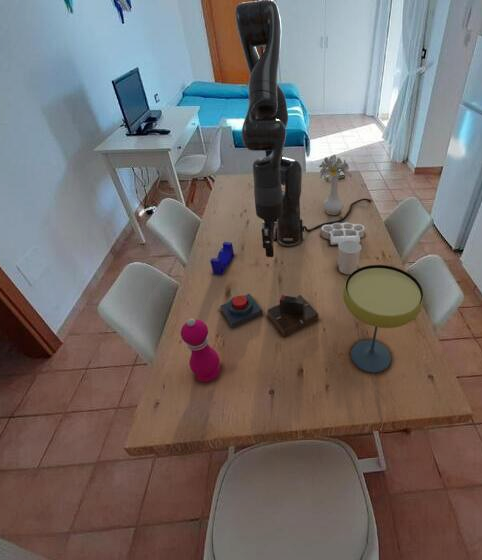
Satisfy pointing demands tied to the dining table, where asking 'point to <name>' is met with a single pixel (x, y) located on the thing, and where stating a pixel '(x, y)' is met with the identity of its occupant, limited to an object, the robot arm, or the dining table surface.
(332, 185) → the flower vase
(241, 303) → the button
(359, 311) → the cocktail glass
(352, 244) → the white cup
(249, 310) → the button box
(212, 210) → the dining table surface
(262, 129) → the robot arm
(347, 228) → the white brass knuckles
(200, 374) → the pepper mill
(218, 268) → the blue notched block
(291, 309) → the selector knob handle
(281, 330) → the switch base
